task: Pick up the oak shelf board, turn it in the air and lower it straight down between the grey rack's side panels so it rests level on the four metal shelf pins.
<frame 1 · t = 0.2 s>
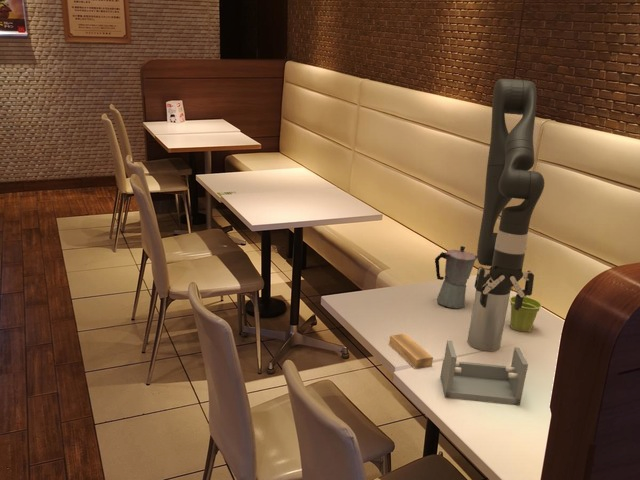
hand: (499, 307, 165), 17 cm above the table, tool pointing down, fingers open, 8 cm apart
grey rack: (479, 392, 157), on the table
moka pot: (449, 304, 208), on the table
shelf board: (409, 355, 173), on the table
plant pot: (520, 328, 195), on the table
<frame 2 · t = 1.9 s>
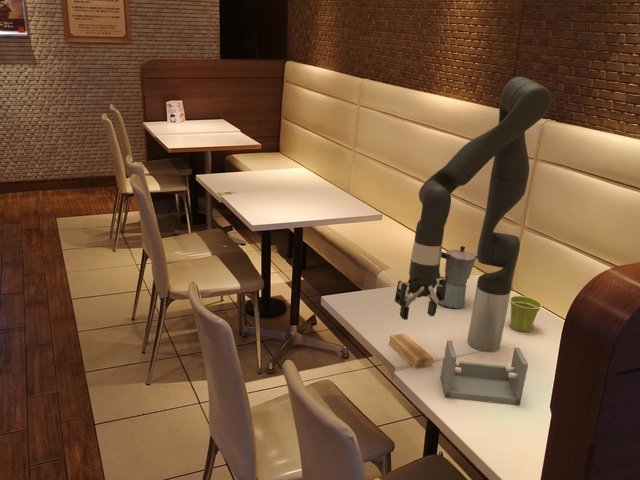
hand: (417, 317, 168), 12 cm above the table, tool pointing down, fingers open, 8 cm apart
nothing on the table moved.
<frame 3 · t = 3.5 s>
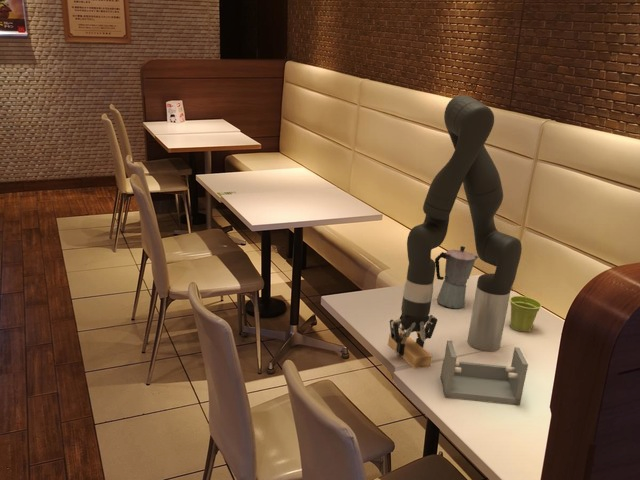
hand: (409, 353, 172), 1 cm above the table, tool pointing down, fingers closed on shelf board, 5 cm apart
shelf board: (408, 354, 173), on the table, touching gripper
everything else where it was.
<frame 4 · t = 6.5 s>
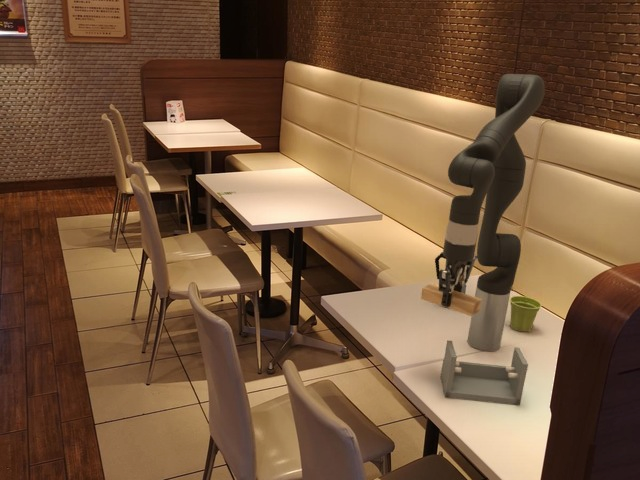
hand: (450, 302, 159), 19 cm above the table, tool pointing down, fingers closed on shelf board, 5 cm apart
shelf board: (450, 304, 160), point 19 cm above the table, touching gripper
everything else where it was.
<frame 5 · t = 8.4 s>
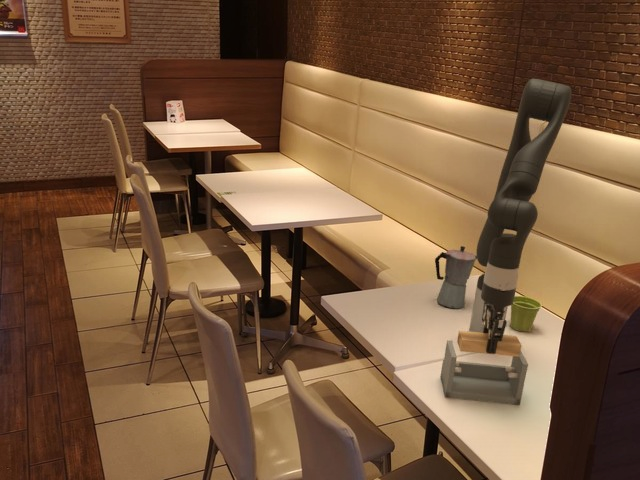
hand: (488, 347, 153), 13 cm above the table, tool pointing down, fingers closed on shelf board, 5 cm apart
shelf board: (487, 349, 153), point 12 cm above the table, touching gripper
everything else where it was.
when the fingers open (8 cm above the table, at t = 9.8 s): shelf board stays where it is, resting on grey rack.
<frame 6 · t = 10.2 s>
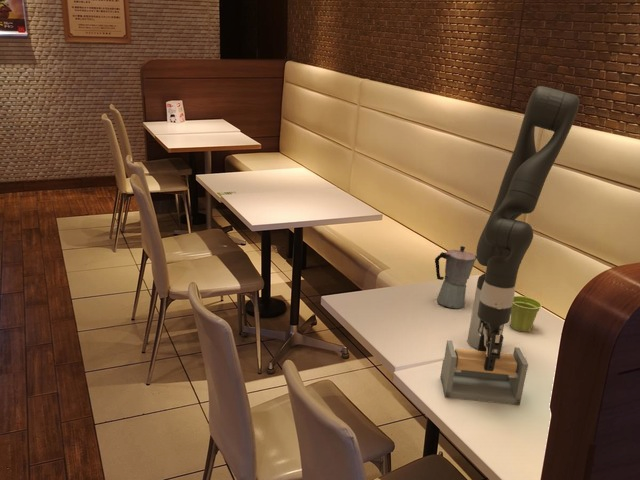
hand: (485, 361, 154), 9 cm above the table, tool pointing down, fingers open, 8 cm apart
shelf board: (483, 367, 155), point 7 cm above the table, touching grey rack
everything else where it was.
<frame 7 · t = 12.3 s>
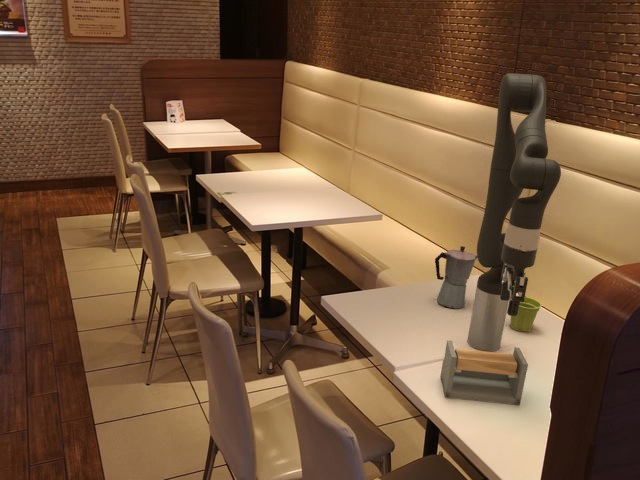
hand: (508, 307, 151), 23 cm above the table, tool pointing down, fingers open, 8 cm apart
nothing on the table moved.
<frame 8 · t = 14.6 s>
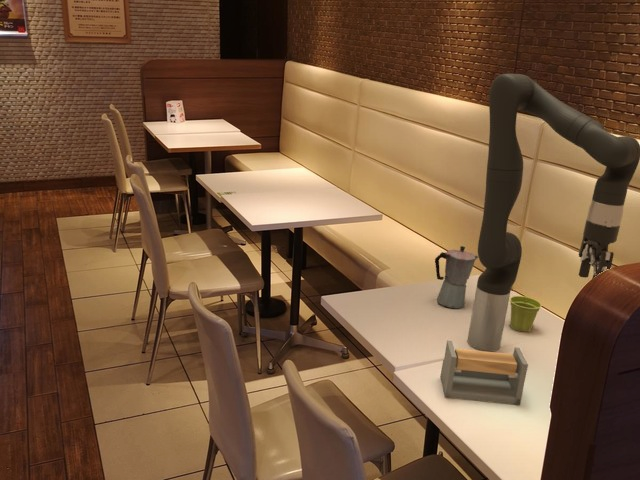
hand: (588, 283, 156), 28 cm above the table, tool pointing down, fingers open, 8 cm apart
nothing on the table moved.
at the end: shelf board 0.0 cm off-centre on the grey rack, point 7.0 cm above the grey rack's base; shelf board tilted 0°; the gripper is holding nothing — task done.
